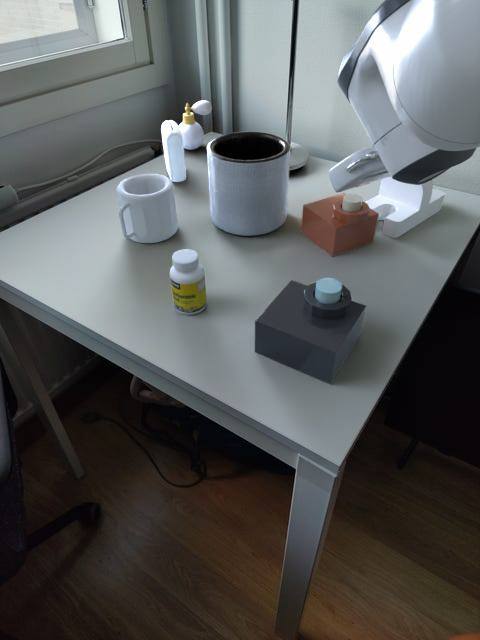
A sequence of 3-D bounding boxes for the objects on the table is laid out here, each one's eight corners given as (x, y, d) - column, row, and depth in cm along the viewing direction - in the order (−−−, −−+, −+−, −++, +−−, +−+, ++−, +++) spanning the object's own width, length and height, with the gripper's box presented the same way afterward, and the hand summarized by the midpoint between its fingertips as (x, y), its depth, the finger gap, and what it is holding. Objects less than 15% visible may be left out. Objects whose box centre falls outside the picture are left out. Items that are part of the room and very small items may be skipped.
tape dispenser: (354, 221, 96) (363, 171, 89) (403, 194, 105) (415, 146, 97) (394, 239, 90) (406, 187, 83) (442, 208, 99) (457, 159, 92)
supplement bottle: (168, 311, 75) (160, 261, 68) (183, 292, 79) (177, 243, 72) (198, 319, 73) (193, 269, 67) (212, 299, 77) (208, 249, 71)
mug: (146, 213, 100) (139, 168, 93) (188, 224, 96) (183, 178, 89) (105, 243, 91) (93, 196, 84) (149, 257, 87) (140, 208, 80)
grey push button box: (361, 334, 70) (370, 293, 65) (330, 384, 63) (337, 342, 58) (290, 308, 75) (293, 268, 70) (254, 352, 68) (254, 310, 62)
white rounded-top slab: (164, 166, 118) (158, 116, 110) (181, 164, 119) (176, 114, 111) (170, 183, 110) (164, 131, 102) (188, 181, 111) (183, 129, 103)
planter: (303, 221, 96) (309, 147, 86) (241, 248, 89) (240, 170, 78) (254, 194, 106) (255, 124, 95) (196, 216, 98) (189, 143, 88)
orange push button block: (376, 244, 89) (384, 206, 84) (335, 259, 85) (341, 221, 80) (340, 220, 96) (345, 184, 91) (300, 233, 93) (303, 196, 87)
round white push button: (364, 209, 84) (366, 199, 82) (350, 214, 83) (351, 204, 81) (352, 202, 86) (353, 192, 85) (338, 206, 85) (339, 196, 83)
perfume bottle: (172, 146, 128) (167, 100, 120) (203, 139, 132) (200, 94, 124) (185, 155, 123) (181, 108, 115) (216, 147, 127) (214, 101, 119)
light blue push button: (344, 293, 66) (346, 282, 64) (334, 307, 63) (336, 296, 62) (321, 286, 67) (322, 274, 66) (310, 299, 65) (311, 287, 63)
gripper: (370, 179, 62) (318, 214, 75) (472, 148, 70) (409, 184, 83) (353, 135, 62) (304, 178, 75) (457, 109, 70) (396, 152, 83)
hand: (360, 181), depth 79 cm, fingers closed
